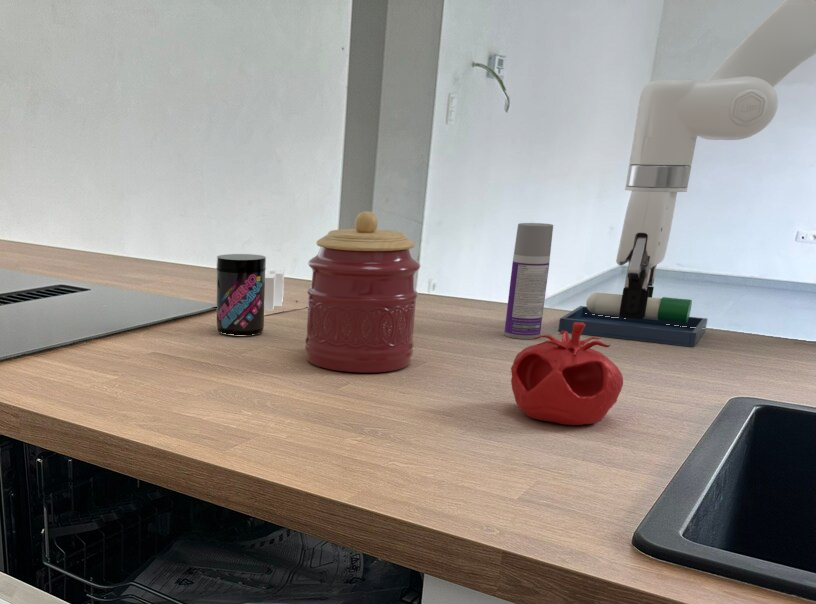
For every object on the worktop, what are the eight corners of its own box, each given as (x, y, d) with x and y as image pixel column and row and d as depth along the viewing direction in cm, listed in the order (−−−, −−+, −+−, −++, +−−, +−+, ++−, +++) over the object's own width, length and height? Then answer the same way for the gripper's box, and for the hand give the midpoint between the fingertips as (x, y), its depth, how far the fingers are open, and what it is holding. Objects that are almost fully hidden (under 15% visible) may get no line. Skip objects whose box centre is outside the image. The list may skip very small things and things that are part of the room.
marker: (582, 313, 124) (585, 291, 123) (587, 311, 126) (590, 289, 125) (685, 324, 116) (689, 301, 115) (688, 321, 119) (693, 298, 118)
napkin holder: (272, 296, 149) (273, 263, 147) (323, 305, 141) (325, 269, 139) (210, 307, 139) (210, 271, 137) (262, 316, 131) (263, 279, 129)
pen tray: (705, 331, 122) (707, 318, 122) (693, 347, 113) (696, 333, 112) (578, 318, 131) (580, 305, 131) (558, 331, 122) (559, 318, 121)
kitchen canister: (405, 378, 97) (418, 217, 91) (293, 369, 101) (298, 213, 95) (417, 353, 108) (430, 209, 102) (316, 346, 112) (323, 206, 106)
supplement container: (206, 333, 120) (206, 257, 116) (234, 325, 125) (235, 252, 121) (246, 339, 116) (247, 261, 112) (273, 331, 121) (275, 256, 118)
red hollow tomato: (528, 396, 90) (540, 308, 87) (629, 414, 84) (645, 320, 81) (490, 417, 83) (501, 322, 80) (597, 439, 77) (613, 337, 74)
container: (506, 331, 122) (519, 222, 117) (541, 334, 120) (556, 223, 115) (501, 337, 118) (514, 225, 113) (537, 340, 116) (552, 226, 111)
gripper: (638, 177, 123) (617, 304, 130) (614, 180, 111) (592, 321, 117) (696, 178, 119) (672, 310, 126) (679, 182, 107) (653, 328, 113)
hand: (634, 314), depth 121 cm, fingers closed on marker, 3 cm apart
